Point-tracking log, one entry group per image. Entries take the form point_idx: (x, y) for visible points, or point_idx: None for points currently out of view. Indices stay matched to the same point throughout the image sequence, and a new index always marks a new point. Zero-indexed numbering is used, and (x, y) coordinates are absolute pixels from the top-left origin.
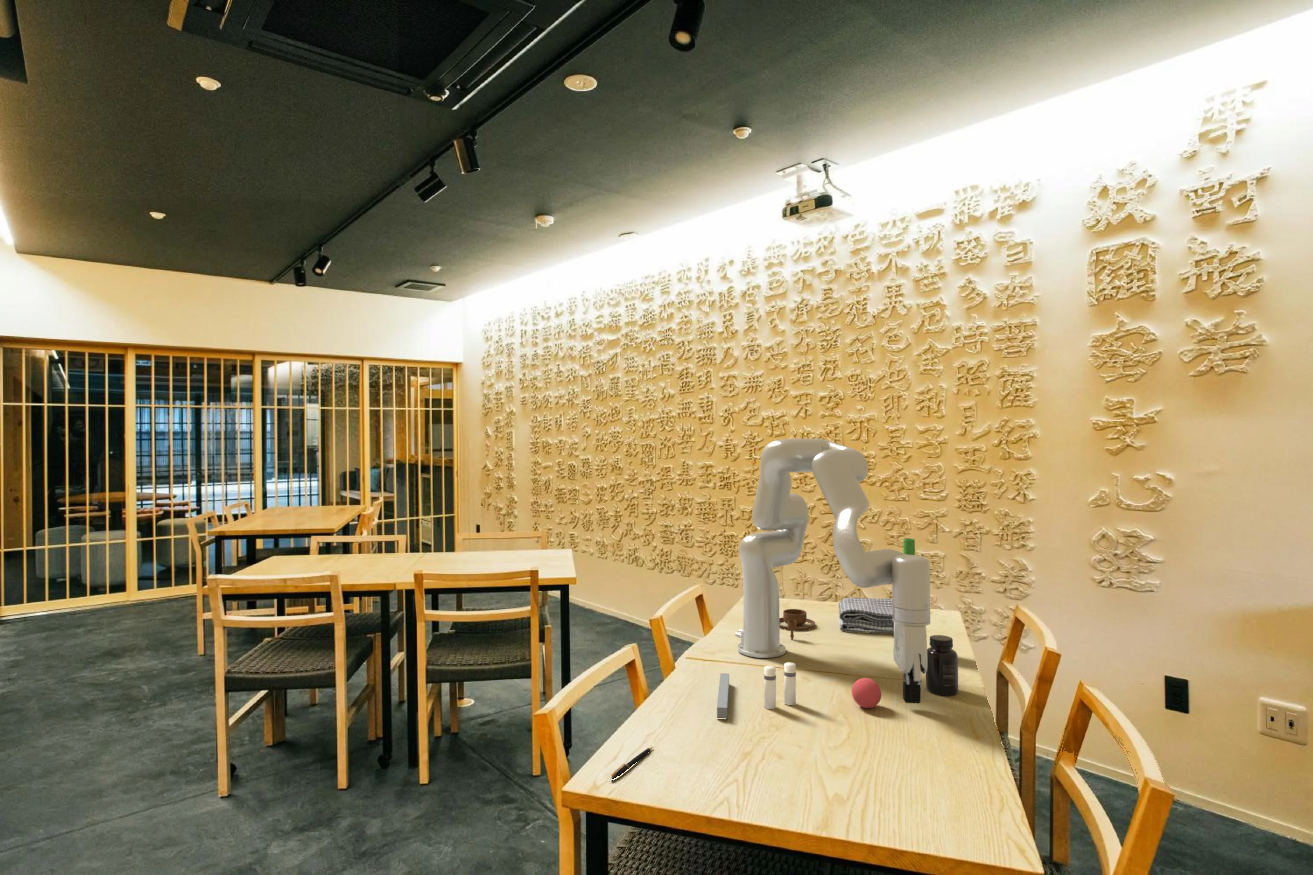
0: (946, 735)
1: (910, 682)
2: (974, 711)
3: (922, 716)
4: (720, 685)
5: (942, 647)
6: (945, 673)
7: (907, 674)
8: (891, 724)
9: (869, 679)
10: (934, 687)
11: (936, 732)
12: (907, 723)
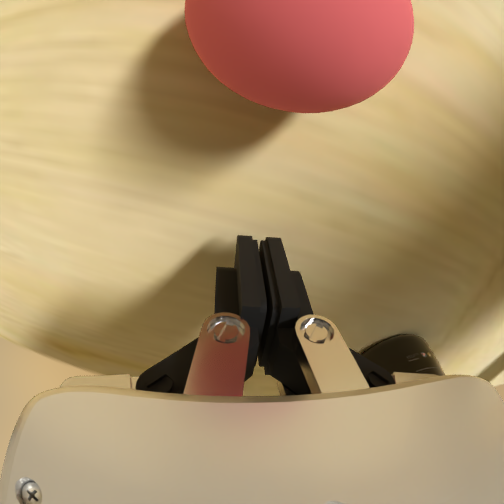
0: (35, 285)
1: (182, 348)
2: None
3: (170, 265)
4: None
5: None
6: None
7: (186, 389)
8: (64, 113)
9: (326, 7)
10: (378, 362)
11: (43, 266)
12: (84, 185)
